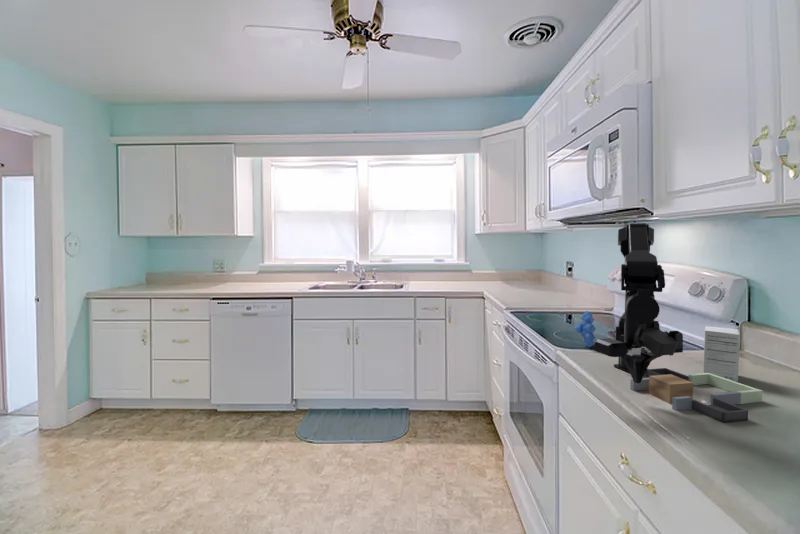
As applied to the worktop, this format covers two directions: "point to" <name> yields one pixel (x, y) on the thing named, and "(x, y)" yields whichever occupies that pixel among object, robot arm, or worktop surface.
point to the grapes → (586, 329)
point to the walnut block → (669, 387)
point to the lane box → (719, 402)
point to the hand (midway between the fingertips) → (637, 382)
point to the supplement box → (721, 352)
